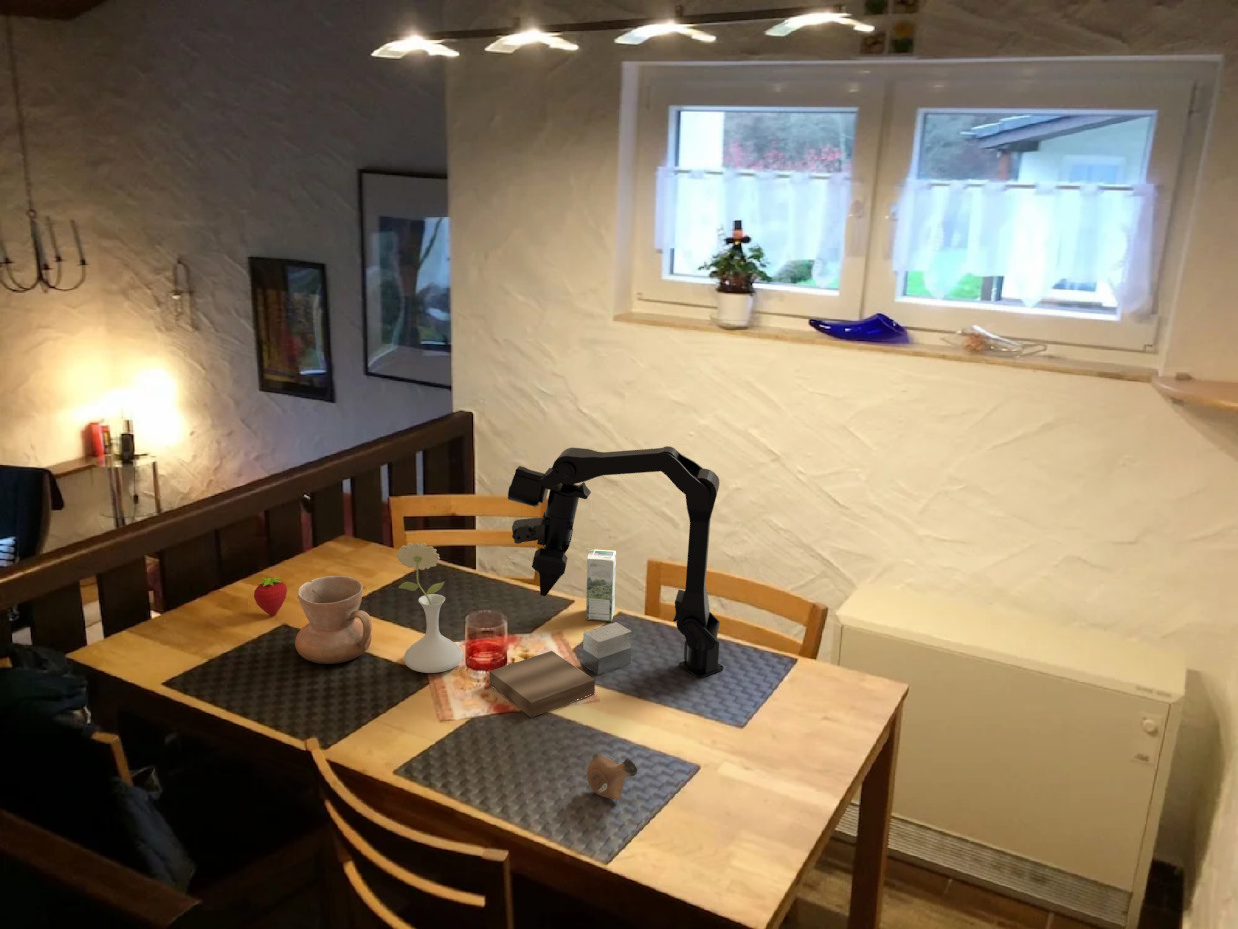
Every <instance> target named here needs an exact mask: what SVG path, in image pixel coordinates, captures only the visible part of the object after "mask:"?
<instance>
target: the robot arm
mask: <svg viewBox="0 0 1238 929" xmlns="http://www.w3.org/2000/svg"><path fill="white" fill-rule="evenodd" d="M659 472H661V473H662V474H664V475H665V476H666V477H667V478H668V479H669V480H670V482H672V484H673V485H674V486H675V487H676V488H677V489H678V490H679V491H680V492H681V493H682V494H684V496H685V503H686V509H687V510H686V511H687V515H688V519H689V531H688V532H689V534H688V546H687V563H686V575H685V576H686V577H685V578H686V579H685V590H683V589H678V590H677V594H676V597H675V600H674V608H675V613H674V616H673V619H672V621H673V622H676V628H677V631H679V633H681V635H682V636H684V639H685V640H684V649H683V653H684V654H683V661H680V662H678V666H679V667H680V668H682V669H684V670H685V671H687V672H689V673H690V674H692V675H693V676H695V677H697V678H699V679H701V678H704V677H707V676H710V675H713V674H715V673H717V672H720V671H723V670H724V665H723V664H721V663H719V656H720V655H719V653H720V642H719V640H718V634H719V629H720V624H721V622H720V620H719V619H718V618H717V617H716V616H715V615H714V614H713V613H712V612H711V611H710V603H709V601H710V600H709V595H708V591H707V584H706V582H707V572H708V571H707V568H708V557H709V556H708V554H709V546H710V544H709V543H710V529H711V519H712V515H713V511H714V507H715V504H716V503H715V502H716V499H717V496H718V492H719V488H720V484H721V483H720V478H719V476H718V475H717V474H716V473H715V471H713V470H711V469H708V468H703V467H702V466H701V465H699V463H697V462H696V461H694V460H692V459H690V458H689V457H687V456H685V455H683V454H682V453H680V452H679V451H678V450H677V449H676V448H674V447H673V446H667V445H666V446H663V447H658V448H657V447H656V448H647V449H646V448H644V449H643V448H642V449H631V450H620V451H619V450H618V451H616V450H615V451H604V452H603V451H597V450H593V449H589V448H581V447H569V448H566V449H563V451H562V452H561V453H560V455H559V456H557V458H556V459H555V460H554V462H553V464H552V467H548V469H547V470H546V471H545V473H544V472H541V471H537V470H531V469H529V468H527V467H525V466H522V465H519V466H518V467H517V468H516V469H515V473H514V475H513V477H512V480H511V483H510V484H509V487H508V492H507V500H508V501H512V502H515V503H519V504H523V505H527V506H530V507H534V508H538V507H539V505H540V504H542V505H543V504H544V503H545V501H546V499H547V503H546V507H545V511H543V515H542V517H529V518H521V519H516V520H514V521H513V524H512V526H511V530H512V535H511V536H512V537H511V538H512V539H513V541H514V544H518V545H519V544H522V543H527V542H529V543H530V542H534V541H537V542H536V544H537V545H538V546H543V547H540V548H538V549H536V550H535V552H534V555H533V558H532V559H533V560H532V564H531V568H532V569H533V570H535V571H536V572H537V573H538V576H539V595H540V596H542V597H546V596H547V595H548V594H549V593H550V591H551V590H552V589H553V587H554V586H555V585H556V583H557V582H558V581H559V579H560V578H561V577H562V576H564V574H565V572H566V568H567V562H568V556H567V555H566V552H567V551H568V550H569V547H570V544H571V542H572V536H573V532H574V528H573V527H574V522H575V519H576V518H575V517H576V514H577V509H578V504H579V499H582V500H588V498H589V497H590V494H591V493H592V492H591V491H592V490H590V489H589V488H588V487H587V485H586V483H585V482H587V481H588V482H589V481H590V480H593V479H595V478H598V477H602V476H613V475H630V474H631V475H632V474H641V473H642V474H643V473H644V474H645V473H659ZM548 492H549V493H548ZM547 497H548V498H547Z"/></svg>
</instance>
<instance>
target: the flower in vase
mask: <svg viewBox="0 0 1238 929" xmlns="http://www.w3.org/2000/svg"><path fill="white" fill-rule="evenodd" d="M395 557H396V558H397V560H398V562H399V563H401V566H405V567H406V568H408V569H409V568H413V570H416V583H415V582H411V581H404V582H402V583H401V584H400V585H399V586H398V588H397V589H402V590H403V589H404V590H407V591H412V592H414V591H417V589H418V588H419V589H420V590H421V592H422V593H423V594H424V595H422V596H420V597H418V600H417V601H418V603H419V604H420V605H421V607H422V608H423V610H424V614H425V620H426V621H425V622H426V631H425V634H424V635H423V637H422V638H420V639H419V640H416V641H415V642H414V643H413V644H411V645H410V647H408V648H407V649H406V651H405V653H404V655H403V663H405V665H406V666H407V667H408V668H409V669H410V670H412V671H414V672H415V671H416V672H418V673H419V672H420V673H425V674H427V673H428V674H432V673H433V674H434V673H435V674H436V673H441V672H445V671H450V670H452V669H454V668H455V667H457V666H459V664H460V663H461V662H462V660H463V658H464V653H463V651H462V648H461V647H460V646H459V645H458V644H457V643H455V641H453V640H452V639H449V638H448V637H445V636H444V635H442V634H441V632H440V628H439V626H440V625H439V617H440V616H439V615H440V611H441V607H442V605H443V603H444V602H445V600H446V597H445V596H443V595H441V594H436V593H437V592H438V591H440V590H441V589H442V588H443V587H444V584H445V580H444V581H442V582H438V583H434V584H432V585H431V586H430V587H429V588H428V590H427V591H426V592H425V590H424V589H423V587H422V586H421V584H420V582H419V570H422V571H423V570H424V571H425V569H427V570H428V569H429V570H430V568H432V567H433V568H434V567H436V566H437V564H438V563H439V561H440V559H441V558H440V554H439V553H437V549H436V548H434V546H427V544H426V543H425V542H421V543H420V544H419V543H418V542H413V543H412V542H408V543H407V545H405V544H404V545H403V544H402V545H401V547H400V548H398V551H397V554H395Z"/></svg>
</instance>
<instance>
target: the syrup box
mask: <svg viewBox="0 0 1238 929" xmlns="http://www.w3.org/2000/svg"><path fill="white" fill-rule="evenodd" d="M616 562H617V551H616V550H609V549H595V548H594V549H593V548H592V549H589V551H588V555H587V559H586V604H585V605H586V606H585V608H586V609H585V611H586V612H585V614H586V615H585V616H586V617H585V619H586V620H587V621H600V622H613V619H614V618H613V616H614V614H615V610H616V609H615V608H616V607H615V601H616V600H615V597H616V596H615V595H616V594H615V592H616V589H615V588H616V570H617V569H616V567H617V566H616V565H617V564H616Z"/></svg>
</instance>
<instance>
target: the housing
mask: <svg viewBox="0 0 1238 929" xmlns="http://www.w3.org/2000/svg"><path fill="white" fill-rule="evenodd" d="M632 634H633V631H632V630H630V629H629V628H627V627H625V626H624V625H622V624H620V623H618V622H617V621H615V622H613V623H609V624H606V625H602V626H599V627H596V628H593V629H589V630H587V631H584V632H583V633H582V635H583V637H582V643H583V644H582V666H584V667H586V668H587V669H589V670H590V669H591V670H590V671H591V672H593V673H595V674H596V675H597V676H598V675H601V674H604V673H608V672H611V671H613V670H616V669H618V668H622V667H624V666H628V665H630V664H632V663H631V662H632V636H633V635H632Z"/></svg>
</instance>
